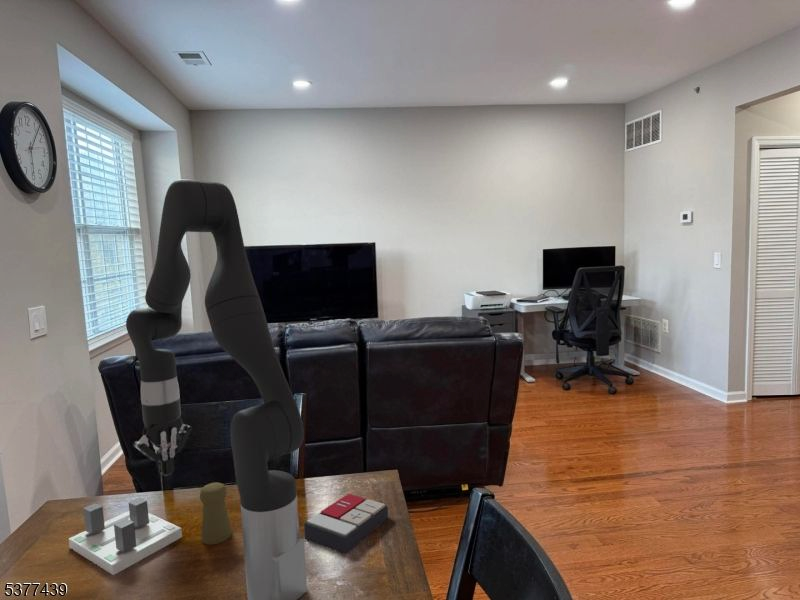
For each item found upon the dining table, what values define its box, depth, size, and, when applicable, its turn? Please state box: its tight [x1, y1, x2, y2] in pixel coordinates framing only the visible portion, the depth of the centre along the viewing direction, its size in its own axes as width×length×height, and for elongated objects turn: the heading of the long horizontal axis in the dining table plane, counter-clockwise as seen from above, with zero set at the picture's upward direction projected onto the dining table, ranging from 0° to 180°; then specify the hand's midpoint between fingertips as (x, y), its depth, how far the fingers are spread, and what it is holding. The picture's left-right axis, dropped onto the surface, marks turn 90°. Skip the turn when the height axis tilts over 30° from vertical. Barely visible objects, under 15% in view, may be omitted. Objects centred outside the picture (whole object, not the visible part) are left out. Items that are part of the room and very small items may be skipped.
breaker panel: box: [68, 510, 183, 576], centre depth 102 cm, size 17×14×2 cm
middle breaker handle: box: [128, 497, 149, 528], centre depth 104 cm, size 3×2×5 cm
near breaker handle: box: [114, 518, 136, 553], centre depth 96 cm, size 3×2×5 cm
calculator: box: [303, 493, 389, 555], centre depth 105 cm, size 11×4×15 cm
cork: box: [199, 482, 233, 545], centre depth 103 cm, size 6×6×11 cm
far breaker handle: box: [82, 502, 105, 535], centre depth 103 cm, size 3×2×5 cm
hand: (167, 474), depth 110 cm, fingers closed
